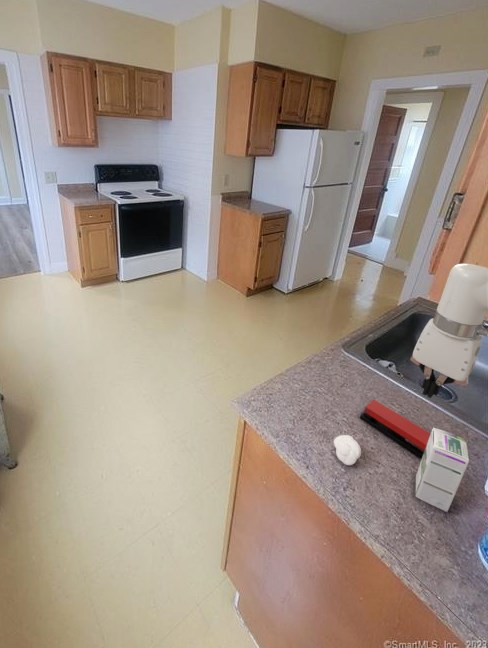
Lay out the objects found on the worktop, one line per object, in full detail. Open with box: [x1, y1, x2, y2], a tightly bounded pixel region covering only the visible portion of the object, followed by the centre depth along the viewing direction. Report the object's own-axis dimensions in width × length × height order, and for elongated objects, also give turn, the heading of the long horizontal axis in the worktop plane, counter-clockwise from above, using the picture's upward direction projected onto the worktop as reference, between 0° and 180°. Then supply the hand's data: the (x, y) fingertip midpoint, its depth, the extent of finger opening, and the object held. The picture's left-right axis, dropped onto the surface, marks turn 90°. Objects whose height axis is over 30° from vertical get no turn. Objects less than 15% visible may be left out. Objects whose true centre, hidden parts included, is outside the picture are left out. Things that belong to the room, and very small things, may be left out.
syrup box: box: [414, 427, 470, 513], centre depth 65 cm, size 6×6×14 cm
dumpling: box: [333, 434, 362, 466], centre depth 75 cm, size 7×5×4 cm
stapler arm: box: [363, 398, 431, 451], centre depth 80 cm, size 15×4×2 cm, turn 38°
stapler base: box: [359, 411, 424, 460], centre depth 81 cm, size 16×5×2 cm, turn 38°
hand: (428, 393), depth 73 cm, fingers closed
